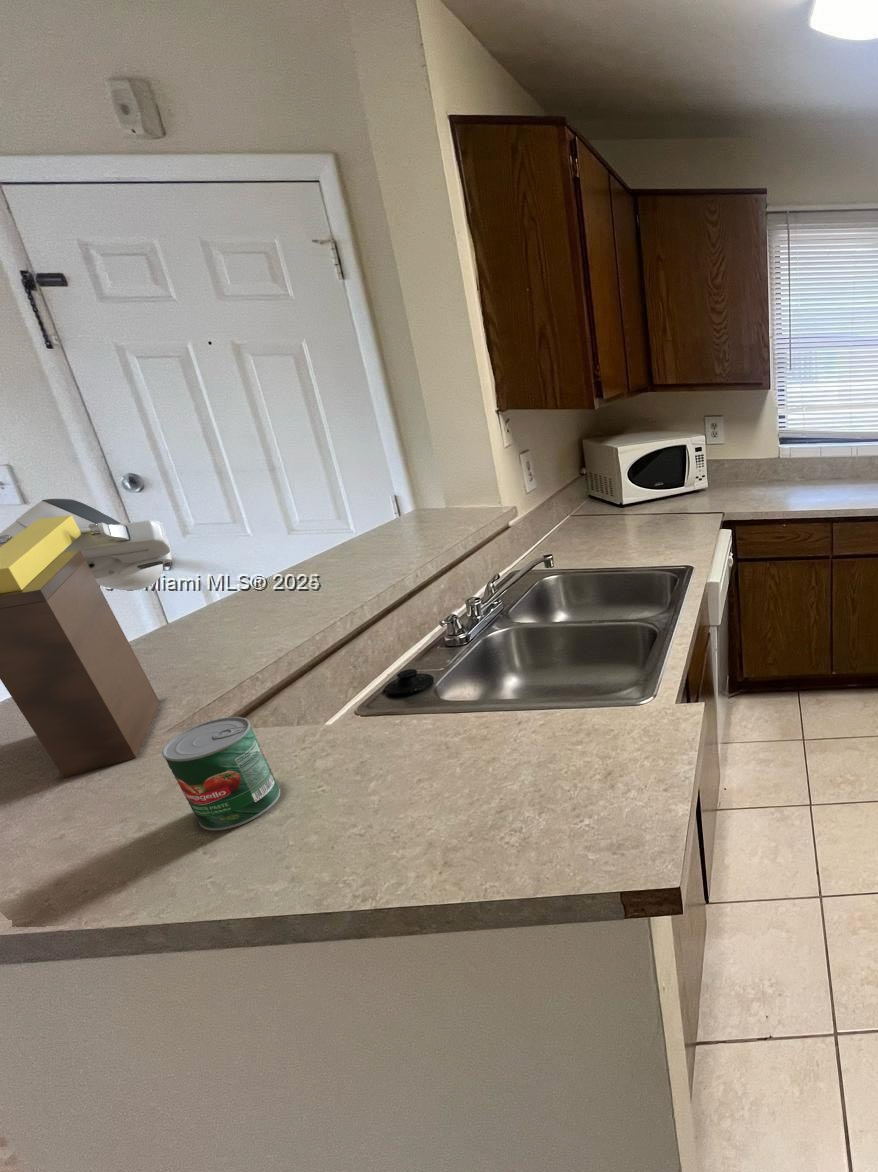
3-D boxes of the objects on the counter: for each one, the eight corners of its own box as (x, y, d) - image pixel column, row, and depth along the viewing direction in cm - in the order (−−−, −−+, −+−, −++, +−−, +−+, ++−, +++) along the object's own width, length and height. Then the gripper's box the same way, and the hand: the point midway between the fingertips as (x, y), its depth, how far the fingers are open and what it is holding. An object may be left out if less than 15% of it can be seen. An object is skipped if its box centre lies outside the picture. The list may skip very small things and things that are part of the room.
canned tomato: (192, 840, 72) (151, 768, 67) (207, 799, 78) (170, 730, 74) (277, 814, 76) (244, 743, 71) (284, 776, 82) (254, 709, 77)
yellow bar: (-22, 597, 72) (-37, 574, 71) (47, 538, 90) (37, 519, 89) (22, 590, 74) (8, 567, 73) (81, 533, 92) (71, 514, 91)
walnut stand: (63, 777, 81) (-49, 604, 71) (97, 717, 93) (5, 560, 82) (136, 757, 85) (40, 589, 74) (160, 701, 97) (80, 549, 86)
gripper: (-6, 548, 93) (-71, 526, 82) (175, 524, 104) (141, 502, 92) (5, 587, 93) (-58, 572, 82) (185, 559, 104) (152, 542, 92)
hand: (49, 534), depth 87 cm, fingers open, 8 cm apart
